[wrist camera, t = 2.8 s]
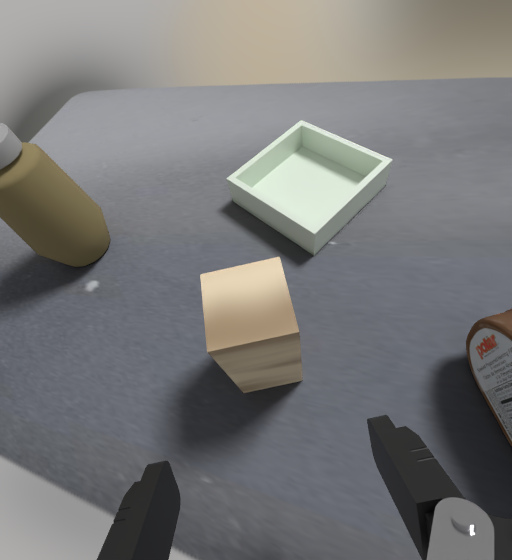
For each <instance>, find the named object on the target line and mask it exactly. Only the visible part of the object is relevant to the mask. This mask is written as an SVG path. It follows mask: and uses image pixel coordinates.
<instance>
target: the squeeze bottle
mask: <svg viewBox="0 0 512 560" xmlns="http://www.w3.org/2000/svg"><path fill="white" fill-rule="evenodd" d="M0 217H1V218H2V219H3V220H4V221H5V222H6V223H7V224H8V225H9V226H10V227H11V228H12V229H13V230H14V231H15V232H16V233H17V234H18V235H19V236H20V237H21V238H22V239H23V240H24V241H25V242H26V243H27V244H28V245H29V246H30V247H31V248H32V249H33V250H34V251H35V252H36V253H37V254H38V255H41V256H44V257H47V258H49V259H52V260H55V261H58V262H61V263H64V264H67V265H70V266H73V267H80V266H86V265H88V264H90V263H93V262H95V261H96V260H97V259H99V258H100V257H101V256H102V255H103V254H104V253H105V251H106V250H107V248H108V246H109V243H110V236H109V232H108V229H107V226H106V222H105V219H104V216H103V213H102V210H101V208H100V207H99V206H98V205H97V204H96V203H95V202H94V201H93V200H92V199H91V198H90V197H89V196H88V195H87V194H86V193H85V192H84V191H83V190H82V189H81V188H80V187H79V186H78V185H77V184H76V183H75V182H74V181H73V180H72V179H71V178H70V177H69V176H68V175H67V174H66V173H65V172H64V171H63V170H62V169H61V168H60V167H59V166H58V165H57V164H56V163H55V162H54V161H53V160H52V159H51V158H50V157H49V156H48V155H47V154H46V153H45V152H44V151H43V150H42V149H41V148H40V147H39V146H37V145H36V144H31V143H24V142H21V141H20V140H19V139H18V138H17V137H16V136H15V135H14V133H13V132H12V131H11V130H10V129H9V128H8V127H7V126H6V125H5V124H2V123H0Z"/></svg>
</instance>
